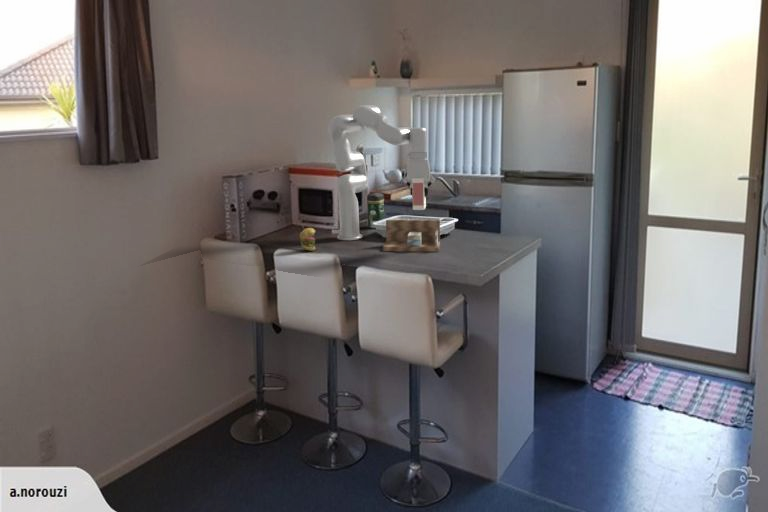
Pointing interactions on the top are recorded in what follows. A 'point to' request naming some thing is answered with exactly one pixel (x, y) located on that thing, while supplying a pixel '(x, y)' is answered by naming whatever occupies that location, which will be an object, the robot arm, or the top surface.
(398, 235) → the shelf
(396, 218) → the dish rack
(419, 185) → the boxed book
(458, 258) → the top surface
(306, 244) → the hamburger
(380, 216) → the coffee jar
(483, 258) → the top surface
